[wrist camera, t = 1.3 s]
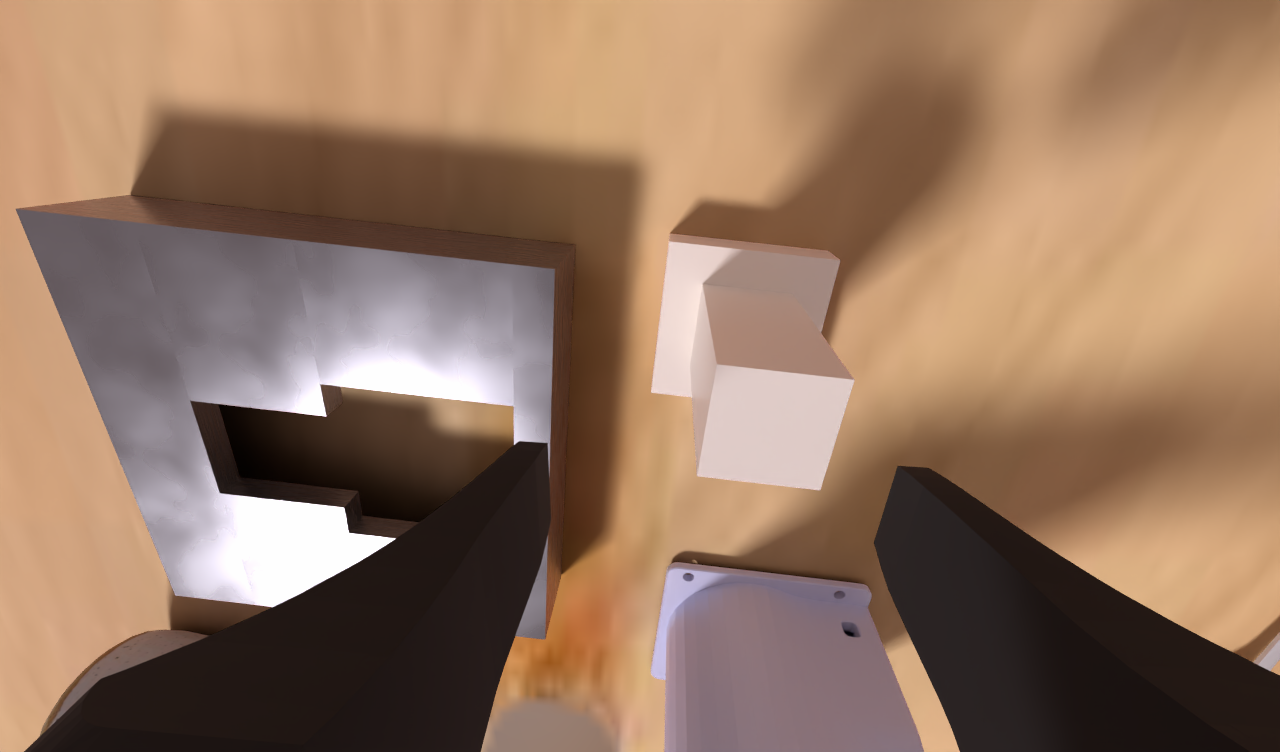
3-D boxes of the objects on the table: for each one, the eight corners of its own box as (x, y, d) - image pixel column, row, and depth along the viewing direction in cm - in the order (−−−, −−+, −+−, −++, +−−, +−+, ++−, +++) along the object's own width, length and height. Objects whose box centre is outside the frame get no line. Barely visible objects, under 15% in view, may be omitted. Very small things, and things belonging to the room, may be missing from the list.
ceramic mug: (149, 593, 28) (-27, 752, 21) (302, 621, 28) (179, 786, 21) (190, 709, 32) (59, 869, 25) (321, 732, 33) (226, 896, 26)
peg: (827, 250, 18) (932, 332, 11) (792, 391, 20) (857, 535, 13) (669, 232, 18) (666, 302, 11) (652, 374, 20) (640, 510, 13)
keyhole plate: (575, 244, 18) (554, 269, 15) (561, 575, 25) (545, 639, 22) (128, 195, 18) (15, 208, 15) (237, 537, 25) (175, 595, 22)
